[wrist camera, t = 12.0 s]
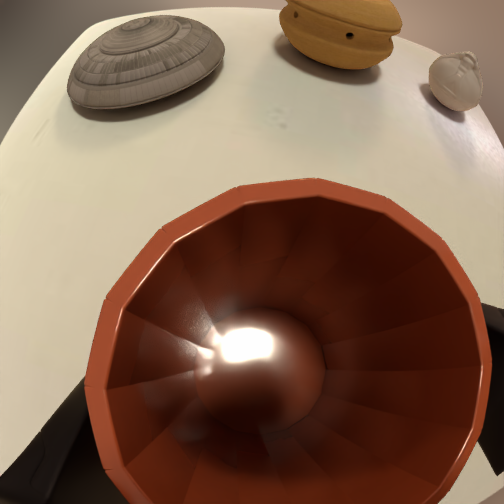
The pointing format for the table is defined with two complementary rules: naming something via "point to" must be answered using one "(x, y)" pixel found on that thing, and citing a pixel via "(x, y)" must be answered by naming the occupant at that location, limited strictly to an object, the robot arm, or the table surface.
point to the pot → (342, 30)
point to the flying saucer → (144, 62)
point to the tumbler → (290, 355)
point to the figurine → (456, 80)
